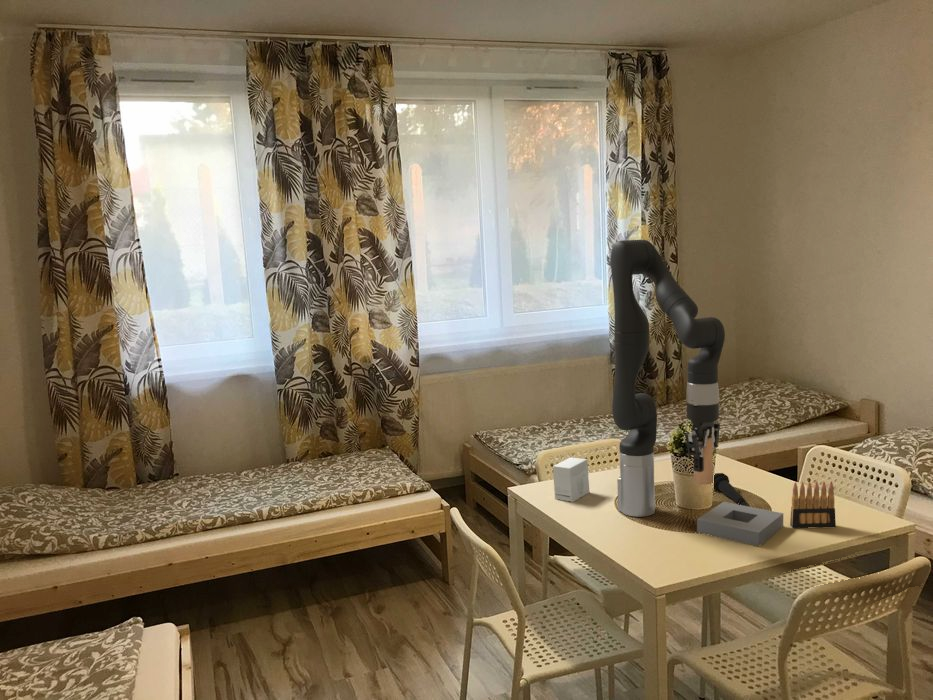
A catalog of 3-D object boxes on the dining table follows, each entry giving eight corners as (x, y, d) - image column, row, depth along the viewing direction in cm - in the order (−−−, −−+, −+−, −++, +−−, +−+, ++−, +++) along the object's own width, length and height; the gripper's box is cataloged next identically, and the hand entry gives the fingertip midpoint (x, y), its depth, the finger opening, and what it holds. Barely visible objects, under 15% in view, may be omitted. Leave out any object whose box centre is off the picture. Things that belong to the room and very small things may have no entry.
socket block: (697, 532, 197) (696, 519, 197) (723, 514, 209) (723, 501, 208) (758, 546, 186) (758, 532, 186) (783, 526, 198) (783, 513, 198)
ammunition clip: (792, 528, 197) (792, 483, 195) (790, 525, 198) (790, 481, 197) (835, 527, 196) (836, 482, 194) (833, 524, 197) (833, 480, 196)
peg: (690, 482, 188) (690, 438, 186) (699, 477, 191) (698, 434, 190) (707, 485, 185) (707, 441, 183) (716, 480, 188) (715, 437, 187)
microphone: (753, 519, 213) (720, 488, 232) (760, 500, 212) (726, 471, 231) (735, 515, 212) (704, 485, 231) (743, 496, 210) (710, 467, 230)
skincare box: (571, 489, 237) (570, 456, 235) (589, 492, 233) (588, 459, 231) (553, 499, 229) (552, 465, 227) (572, 502, 225) (571, 468, 223)
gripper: (701, 393, 193) (702, 459, 195) (674, 404, 183) (675, 473, 185) (730, 396, 188) (730, 464, 190) (703, 407, 177) (704, 479, 180)
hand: (703, 468), depth 188 cm, fingers closed on peg, 4 cm apart
